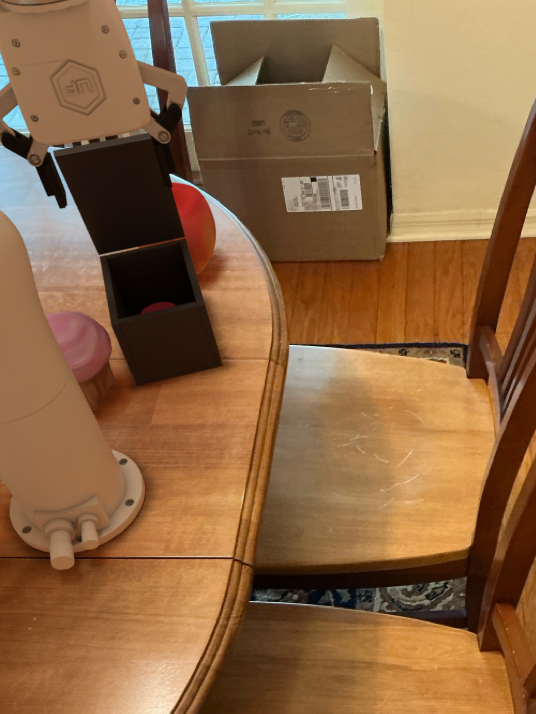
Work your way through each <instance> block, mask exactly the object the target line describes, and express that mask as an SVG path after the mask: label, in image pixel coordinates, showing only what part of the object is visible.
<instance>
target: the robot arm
mask: <svg viewBox="0 0 536 714" xmlns="http://www.w3.org/2000/svg"><path fill="white" fill-rule="evenodd" d="M125 25H126V24H125V23H124V20H123V18H122V16H121V13H120V11H119V7H118V6H117V3H116V1H115V0H0V56H1V59H2V62H3V66H4V68H5V72H6V74H7V77H8V79H9V82H8V83H6V84H5V85H4V86H3V88H1V89H0V143H1V145H2V146H3V148H5V149H7V150H8V151H10V152H12V153H14V154H15V155H17V156H19V157H21V158H23V159H25V160H26V161H27V162H28V164H29V165H30V166H32V167H34V168H35V170H36V173H37V175H38V177H39V180H40V182H41V185H42V187H43V190H44V191H45V195H46V196H47V197H53V196H54V198H55V201H56V203H57V206H58V208H59V210H60V209H61V210H62V209H66V208H67V207H68V199H67V192H66V189H65V186H64V183H63V181H62V178H61V176H60V172H59V171H58V167H57V166H56V163H55V161H54V157H53V156H52V153H51V151H48V150H49V147H50V146H59V145H67V144H73V143H79V142H80V143H81V141H85V140H89V141H90V140H97V139H101V138H102V139H103V138H108V137H112V136H119V135H122V134H124V133H133V132H136V131H140V130H143V131H145V132H146V133H149V134H150V136H151V140H152V143H153V147H154V150H155V154H156V157H157V161H158V164H159V168H160V171H161V175H162V178H163V182H164V185H165V187H167V188H172V187H173V185H172V178H171V175H172V174H176V173H177V168H176V165H175V159H174V156H173V153H172V150H171V146H170V141H171V139H172V138H171V137H172V134H173V132H174V131H175V129H176V127H177V125H178V124H179V122H180V121H181V119H182V117H183V110H184V106H185V102H186V98H187V94H188V88H189V87H188V84H187V81H186V78H185V77H184V76H183V75H181V74H178V73H175V72H172V71H170V70H167V69H164V68H162V67H158V66H155V65H152V64H149V63H146V62H145V61H144V62H143V61H141V60H138V59H137V58H136V54H135V53H134V52H135V51H134V49H133V46H132V42H131V39H130V37H129V34H128V30H127V28H126V26H125ZM145 85H148V86H150V87H154V88H157V89H160V90H162V91H166V92H167V93H168V94H167V100H166V102H165V103H164V105H163V107H162V108H161V110H160V112H159V113H158V112H157V111H156V110H154V109H153V108H152V107H151V106H150V102H149V97H148V94H147V90H146V87H145ZM16 107H18V108H19V111H20V113H21V116H22V118H23V120H24V123H25V125H26V127H27V130H28V132H29V134H28V136H26V135H25V134H23V133H21V132H19V131H17V130H16V129H14V128H13V127H11V126H9V125H8V124H7V122H6V121H5V120H4V118H5V117H6V116H8V115H9V114H10V113H11V112H12V111H13V110H15V108H16ZM45 314H46V313H45V310H44V308H43V303H42V302H41V299H40V295H39V292H38V287H37V285H36V280H35V275H34V272H33V268H32V264H31V260H30V256H29V251H28V248H27V246H26V244H25V241H24V238H23V236H22V234H21V232H20V231H19V229H18V228H17V226H16V224H15V223H14V222H13V221H12V219H11V218H10V217H8V215H7V214H6V213H4V211H2V210H1V209H0V480H1V481H2V482H3V485H5V487H6V488H7V490H8V491H9V493H10V494H11V495H12V497H11V500H10V504H9V520H10V522H11V524H12V527H13V529H14V530H15V532H16V533H17V534H18V536H19V537H20V539H22V541H24V542H25V544H27V545H29V546H31V547H32V548H34V549H36V550H38V551H42V552H44V553H49V557H50V558H49V559H50V565H51V567H52V569H55V570H59V571H64V570H69V569H71V568H73V567H74V565H75V564H76V563H75V553H81V552H85V551H87V550H88V551H91V550H92V551H93V550H95V549H97V548H98V547H99V546H101V545H103V544H105V543H107V542H109V541H110V540H112V539H113V538H115V537H117V536H119V534H121V533H122V532H123V531H125V530H126V529H127V528H128V527H129V526H130V525H131V523H132V522H133V521H134V520H135V519H136V517H137V516H138V514H139V512H140V511H141V509H142V506H143V504H144V501H145V496H146V484H145V479H144V476H143V475H142V472H141V470H140V468H139V466H138V465H137V464H136V462H135V461H134V460H133V459H131V457H129V456H128V455H126V454H124V453H122V452H121V451H118V450H115V449H112V448H111V446H110V444H109V442H108V440H107V438H106V436H105V433H104V432H103V430H102V429H101V426H100V424H99V422H98V420H97V418H96V416H95V415H94V412H93V411H92V410H91V408H90V406H89V404H88V402H87V400H86V398H85V396H84V394H83V392H82V390H81V388H80V386H79V384H78V382H77V380H76V378H75V376H74V374H73V372H72V370H71V368H70V366H69V364H68V362H67V360H66V359H65V357H64V354H63V352H62V350H61V348H60V346H59V344H58V342H57V340H56V338H55V336H54V334H53V332H52V329H51V327H50V325H49V323H48V320H47V318H46V315H45Z"/></svg>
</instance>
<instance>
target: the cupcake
mask: <svg viewBox="0 0 536 714" xmlns="http://www.w3.org/2000/svg"><path fill="white" fill-rule="evenodd" d="M45 315H46V318H47V320H48V323H49V325H50V327H51V329H52V332H53V334H54V336H55V338H56V340H57V342H58V344H59V346H60V348H61V350H62V352H63V354H64V357H65V359H66V360H67V362H68V364H69V366H70V368H71V370H72V372H73V374H74V376H75V378H76V380H77V382H78V384H79V386H80V388H81V390H82V392H83V394H84V396H85V398H86V400H87V402H88V404H89V406H90V408H91V410H92V412H93V411H95V410H97V409H98V408H99V407H100V405H101V404H102V403H103V402H104V400H105V399H106V398H107V396H108V394H109V393H110V392H111V391H112V390H114V387H115V385H116V381H115V376H114V373H113V370H112V367H111V363H110V358H111V357H112V352H113V347H112V346H113V345H112V340H111V337H110V335H109V332H108V331H107V330H106V329H105V327H104V326H102V325H101V324H100V323H99V322H98V321H97V320H96V319H94V318H93V317H91V316H90V315H88V314H86V313H84V312H82V311H75V310H58V311H54V312H50V313H45Z"/></svg>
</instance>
